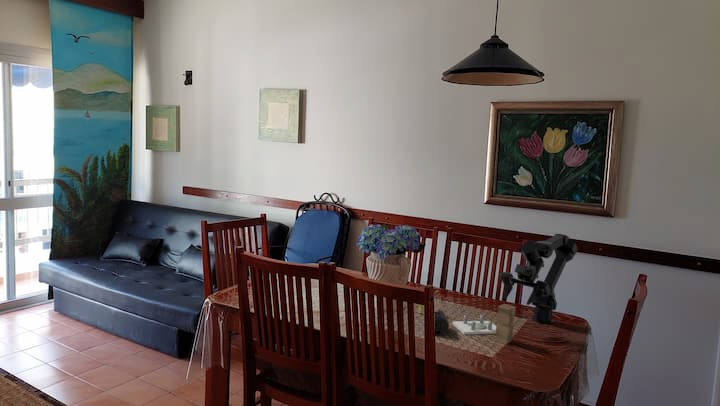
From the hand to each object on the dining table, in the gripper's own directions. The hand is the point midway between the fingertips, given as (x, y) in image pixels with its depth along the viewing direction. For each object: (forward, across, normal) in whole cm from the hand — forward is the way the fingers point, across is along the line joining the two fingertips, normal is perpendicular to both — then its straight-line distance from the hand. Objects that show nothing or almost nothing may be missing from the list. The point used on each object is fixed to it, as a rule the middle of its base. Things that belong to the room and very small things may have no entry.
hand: (515, 301), depth 190 cm
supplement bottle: (+15, -36, +5) cm, 40 cm away
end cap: (+24, -21, -4) cm, 32 cm away
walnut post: (+15, 0, +4) cm, 15 cm away
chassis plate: (+13, -12, +6) cm, 19 cm away
